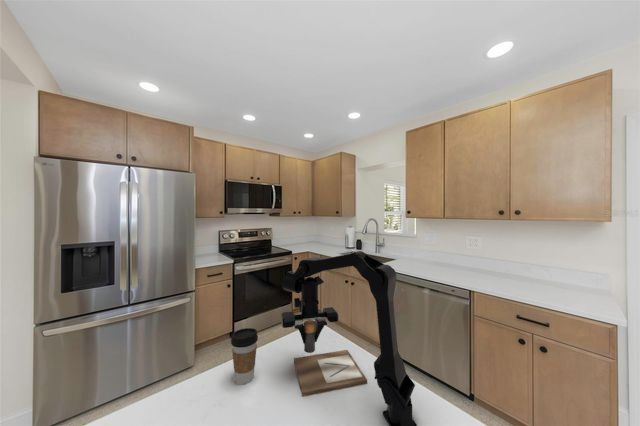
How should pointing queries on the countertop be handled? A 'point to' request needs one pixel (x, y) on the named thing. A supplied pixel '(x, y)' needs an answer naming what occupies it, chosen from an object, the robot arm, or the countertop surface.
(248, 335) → the coffee cup
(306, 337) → the black and orange cylinder
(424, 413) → the countertop surface
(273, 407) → the countertop surface
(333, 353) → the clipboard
